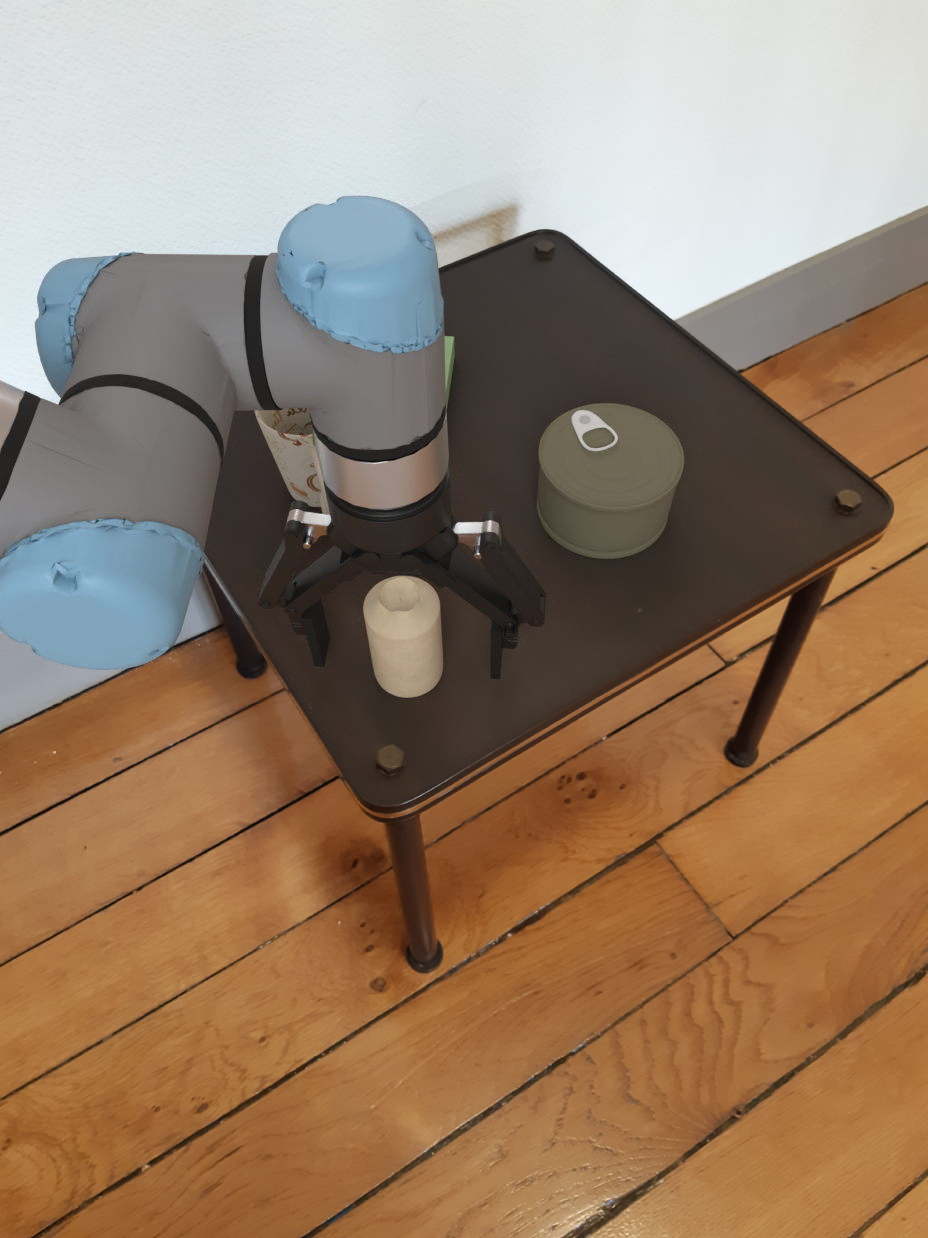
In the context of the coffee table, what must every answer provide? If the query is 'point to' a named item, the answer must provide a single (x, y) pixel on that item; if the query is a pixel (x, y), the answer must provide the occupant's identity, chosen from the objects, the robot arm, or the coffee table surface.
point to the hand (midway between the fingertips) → (409, 658)
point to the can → (607, 479)
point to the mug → (295, 453)
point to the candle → (404, 635)
